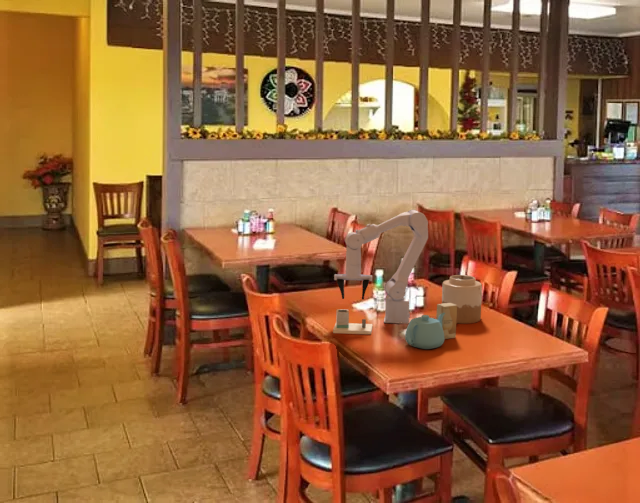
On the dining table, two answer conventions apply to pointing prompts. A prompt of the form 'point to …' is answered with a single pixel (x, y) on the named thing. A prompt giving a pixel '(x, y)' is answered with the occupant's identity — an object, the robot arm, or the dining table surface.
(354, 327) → the pin board
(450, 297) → the vase
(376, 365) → the dining table surface
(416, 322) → the teapot
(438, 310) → the skincare box
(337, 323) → the teal banded block
